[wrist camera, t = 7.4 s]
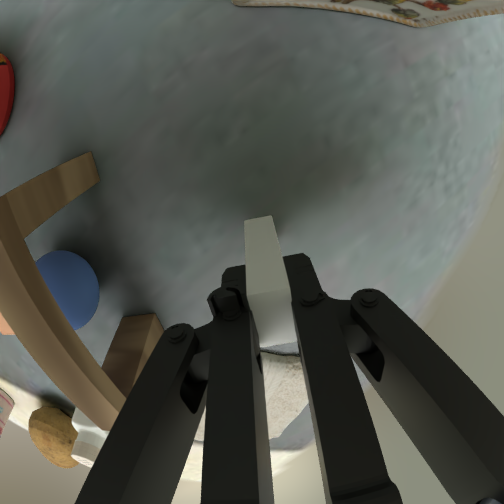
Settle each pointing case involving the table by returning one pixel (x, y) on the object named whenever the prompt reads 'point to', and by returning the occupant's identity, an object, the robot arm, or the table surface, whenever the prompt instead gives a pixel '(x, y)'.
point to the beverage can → (4, 409)
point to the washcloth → (278, 393)
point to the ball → (71, 285)
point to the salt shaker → (87, 439)
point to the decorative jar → (398, 8)
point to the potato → (53, 435)
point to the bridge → (49, 313)
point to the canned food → (6, 91)
